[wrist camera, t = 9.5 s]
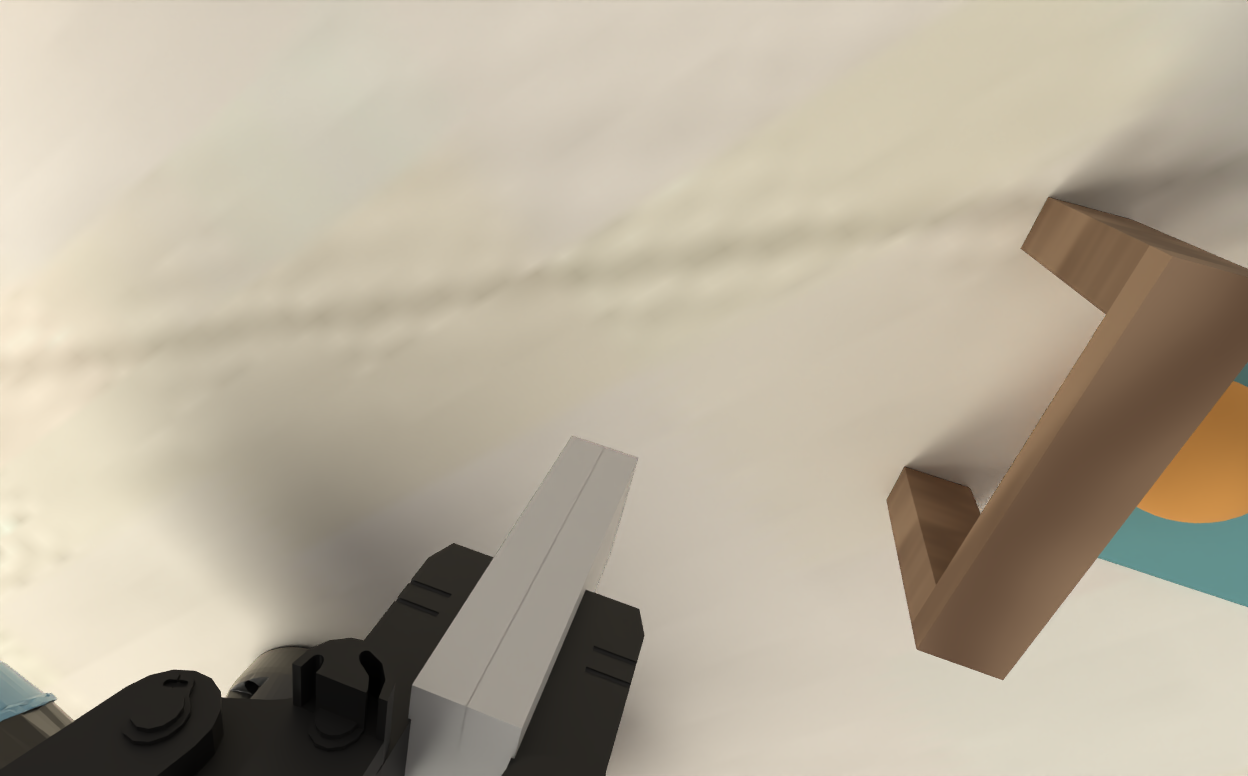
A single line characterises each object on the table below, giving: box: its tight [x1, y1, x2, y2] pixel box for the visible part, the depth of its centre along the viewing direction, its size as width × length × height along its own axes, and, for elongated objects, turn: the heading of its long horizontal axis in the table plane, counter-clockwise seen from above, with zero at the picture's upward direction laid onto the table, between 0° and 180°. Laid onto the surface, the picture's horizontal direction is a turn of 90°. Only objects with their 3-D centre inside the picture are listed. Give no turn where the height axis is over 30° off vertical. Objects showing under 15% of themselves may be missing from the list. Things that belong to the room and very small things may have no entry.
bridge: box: [887, 197, 1248, 680], centre depth 23 cm, size 3×14×9 cm, turn 167°
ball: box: [1137, 381, 1248, 523], centre depth 24 cm, size 6×6×6 cm
